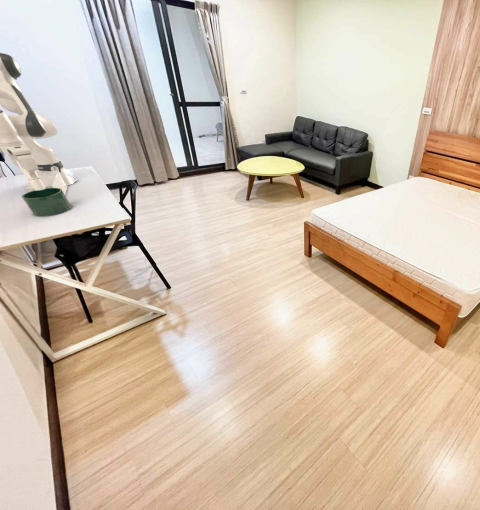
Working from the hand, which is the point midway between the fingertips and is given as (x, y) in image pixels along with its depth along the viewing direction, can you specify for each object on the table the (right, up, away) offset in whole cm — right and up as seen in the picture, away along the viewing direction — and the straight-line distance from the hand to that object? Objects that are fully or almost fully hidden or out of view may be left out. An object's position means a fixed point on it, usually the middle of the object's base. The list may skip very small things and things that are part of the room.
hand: (32, 176), depth 136 cm
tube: (0, -6, +4) cm, 7 cm away
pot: (-1, -15, +10) cm, 19 cm away
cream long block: (-17, -5, +26) cm, 31 cm away
